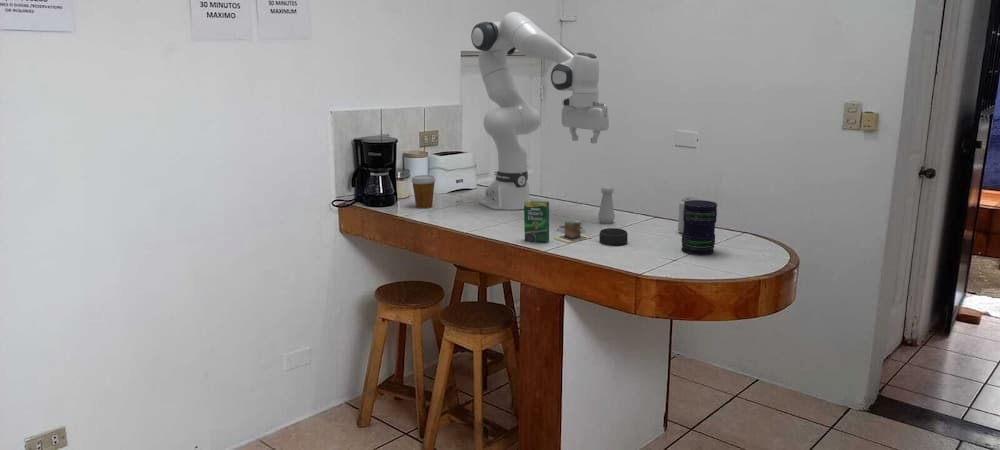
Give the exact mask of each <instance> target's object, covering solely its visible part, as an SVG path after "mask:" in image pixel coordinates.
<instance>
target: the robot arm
mask: <svg viewBox="0 0 1000 450" xmlns="http://www.w3.org/2000/svg"><path fill="white" fill-rule="evenodd" d="M470 35H471V37H470V38H471V42H472V45H473V47H474V48H475V49H476V50H479V51H481V52H480V53H479V55H478V56H477V57H478V66H479V70H480V75H481V79H482V81H483V85H484V86H485V90H486V93H487V95H488V98H489V99H490V100H491V101H492V102H493V103H495V104H496V105H498V107H497V108H495V109H492V110H490V111H488V112H487V113H486V114H485V115H484V117H483V126H484V127H483V129H484V130H485V132H486V134H488V135H489V136H490V137H491V138H492V140H493V141H494V144H495V147H496V149H497V159H498V160H497V162H498V167H497V168H498V169H497V171H494V175H495V180H494V181H493V182H492V183H491V184H489V185H488V186H487V187H486V188H485V191H484V198H482V199H479V200H478V201H479V202H478V203H479V204H481V205H483V206H485V207H487V208H490V209H492V210H506V211H507V210H508V211H509V210H510V211H511V210H517V211H518V210H524V202H525V201H531V197H530V195H531V194H530V185H529V183H528V180H529V178H528V176H529V173H528V172H529V171H528V170H527V168H528V166H527V165H528V163H527V161H528V160H527V155H528V154H527V150H526V148H524V147H522V146H521V145H520V143H519V139H518V136H522V135H528V134H531V133H533V132H535V131H537V130H538V129H539V127H540V125H541V115H540V113H539V111H538V110H537V108H535V107H533V106H532V105H530V104H529V103H528V102H527V101H526V100H525V98H524V97H523V96H522V95H521V93H520V92H519V90H518V88H517V86H516V84H515V81H514V79H513V76H512V73H511V71H510V68H509V65H508V63H507V55H509V56H511V55H513V54H514V53H515V51H517V52H519V53H521V54H522V55H523V56H526V57H527V58H528V57H529V58H535V59H542V60H548V61H552V62H554V63H555V65H554V66H553V68H552V69H551V73H550V82H551V84H552V87H554V88H555V89H556V90H557V91H561V92H569V91H570V92H572V95H571V96H569V97H567V98H564V99H562V101H561V104H562V109H561V125H562V127H565V128H569V133H570V135H571V141H573V142H577V141H579V135H577V130H578V129H580V130H591V131H592V134H593V135H592V137H591V138H590V143H591V144H597V143H598V139H599V136H600V134H601V132H602V131H604V132H605V131H608V130H609V127H610V125H609V124H610V123H609V122H610V120H609V111H608V107H607V105H606V104H605V103H604V102H599V87H598V85H599V80H600V65H599V59H598V57H597V56H596V54H593V53H590V52H589V53H588V52H577V53H573V52H572V51H571V50H569V49H568V48H567V47H566V46H564V45H563V44H562V43H560V42H558V41H557V40H556V39H554V38H553V37H551V36H550V35H548V34H547V33H546V32H545V31H543V30H542V29H541V28H540V27H539V26H538V25H536V23H534V22H533V20H531V19H530V18H528V17H527V16H525V15H524V14H522V13H520V12H517V11H511V12H508V13H507V14H506V15H504V17H503V18H502V19H501V20H496V21H483V22H480V23H477V24H475V25H474V26H473V28H472V30H471V34H470Z"/></svg>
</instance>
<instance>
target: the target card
mask: <svg viewBox="0 0 1000 450" xmlns="http://www.w3.org/2000/svg"><path fill="white" fill-rule="evenodd" d="M580 236H581V238H578V239H574V240H571V239H568V238H564V235H560V236H558V237H557V236H556V237H553V239H554V240H557V241H561V242H563V241H564V242H563V243H566V242H567V244H572V243H576V242H581V241H585V240H589V239H590V240H591V239H592V237H591V236H587V235H584V234H582V233H580Z"/></svg>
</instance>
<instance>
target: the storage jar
mask: <svg viewBox="0 0 1000 450" xmlns="http://www.w3.org/2000/svg"><path fill="white" fill-rule="evenodd" d="M717 207H718V203H717V202H714V201H711V200H702V199H701V200H690V201H685V202H684V211H683V221H684V228H683V233H682V234H681V252H683V253H684V254H687V255H692V256H710V255H713V254H714V253H715V244H716V234H715V231H716V230H715V229H716V223H717V216H718V212H717V211H718V209H717Z"/></svg>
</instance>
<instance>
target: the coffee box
mask: <svg viewBox="0 0 1000 450" xmlns="http://www.w3.org/2000/svg"><path fill="white" fill-rule="evenodd" d="M523 215H524V216H523V218H524V219H523V221H524V222H523V223H524V224H523V225H524V241H525V242H535V243H536V242H537V243H542V242H543V243H545V244H548V243H549V242H550V201H543V200H541V201H540V200H530V201H525V202H524V209H523Z"/></svg>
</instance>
